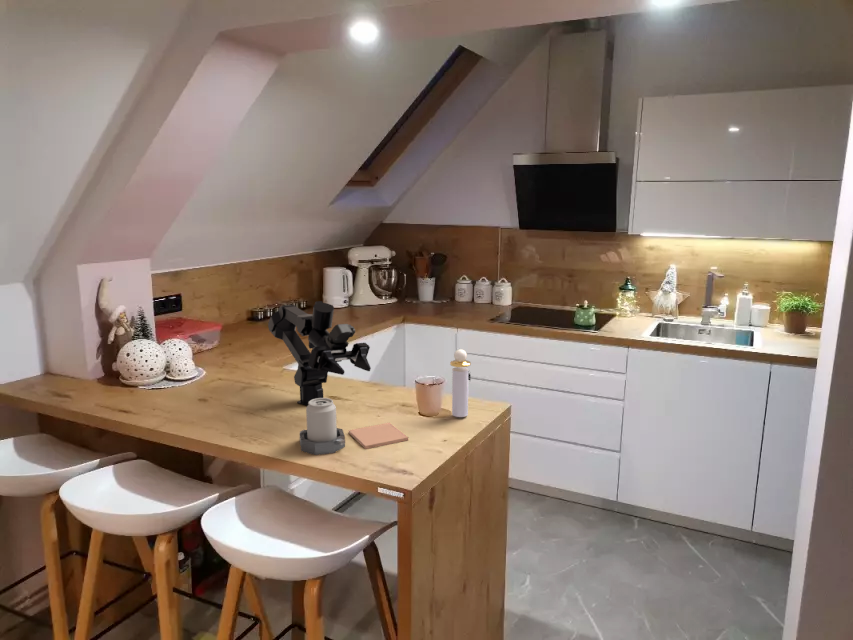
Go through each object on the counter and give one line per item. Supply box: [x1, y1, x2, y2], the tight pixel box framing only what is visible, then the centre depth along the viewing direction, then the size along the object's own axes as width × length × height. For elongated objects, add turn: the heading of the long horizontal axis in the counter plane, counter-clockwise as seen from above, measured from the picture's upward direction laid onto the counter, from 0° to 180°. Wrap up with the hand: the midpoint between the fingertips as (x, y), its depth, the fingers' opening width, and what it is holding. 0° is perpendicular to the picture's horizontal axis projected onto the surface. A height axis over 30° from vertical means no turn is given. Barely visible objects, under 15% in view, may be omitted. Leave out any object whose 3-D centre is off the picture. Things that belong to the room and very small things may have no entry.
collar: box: [299, 427, 346, 456], centre depth 165 cm, size 13×11×3 cm
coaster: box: [348, 422, 409, 450], centre depth 171 cm, size 12×12×1 cm
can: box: [305, 397, 338, 442], centre depth 164 cm, size 8×8×12 cm
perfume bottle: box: [449, 348, 472, 418], centre depth 183 cm, size 6×6×20 cm
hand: (357, 371), depth 175 cm, fingers open, 9 cm apart
